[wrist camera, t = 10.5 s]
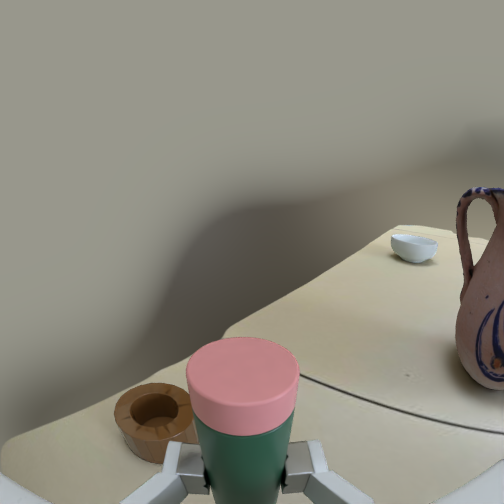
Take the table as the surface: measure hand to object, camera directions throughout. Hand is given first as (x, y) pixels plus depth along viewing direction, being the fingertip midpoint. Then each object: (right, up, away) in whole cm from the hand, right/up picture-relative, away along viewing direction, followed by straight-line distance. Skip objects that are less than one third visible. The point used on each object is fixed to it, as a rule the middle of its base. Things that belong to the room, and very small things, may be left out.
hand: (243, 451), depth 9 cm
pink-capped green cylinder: (0, -7, +1) cm, 7 cm away
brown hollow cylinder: (-9, -10, +13) cm, 19 cm away
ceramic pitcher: (+34, -9, +18) cm, 39 cm away
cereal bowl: (+53, +5, +72) cm, 90 cm away
